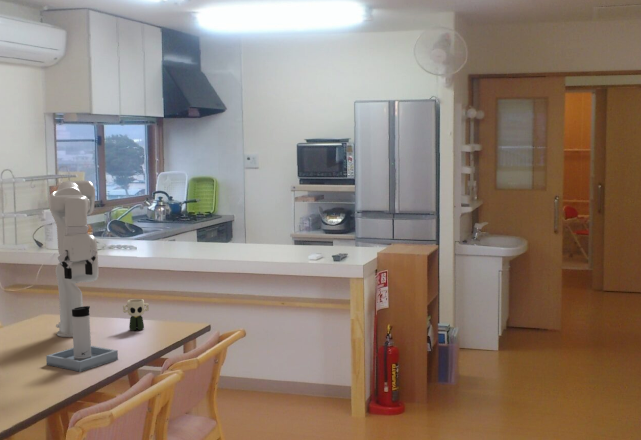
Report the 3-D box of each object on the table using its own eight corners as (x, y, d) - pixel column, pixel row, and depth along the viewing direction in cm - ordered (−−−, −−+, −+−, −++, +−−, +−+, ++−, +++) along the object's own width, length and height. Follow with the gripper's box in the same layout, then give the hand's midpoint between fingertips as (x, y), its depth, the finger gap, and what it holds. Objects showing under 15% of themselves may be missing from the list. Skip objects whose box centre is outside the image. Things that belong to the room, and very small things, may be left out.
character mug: (124, 332, 332) (123, 302, 331) (123, 328, 339) (122, 299, 338) (150, 330, 335) (148, 301, 334) (149, 326, 342) (147, 298, 341)
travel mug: (87, 361, 284) (84, 308, 282) (70, 361, 285) (68, 307, 283) (95, 357, 290) (93, 304, 288) (79, 356, 291) (77, 304, 289)
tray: (46, 364, 284) (46, 355, 284) (84, 353, 300) (84, 344, 299) (80, 371, 275) (79, 362, 275) (117, 359, 290) (117, 350, 290)
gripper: (87, 227, 292) (89, 272, 294) (50, 232, 277) (52, 279, 279) (101, 228, 288) (103, 273, 290) (64, 233, 273) (66, 281, 275)
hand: (78, 276), depth 284 cm, fingers open, 9 cm apart
